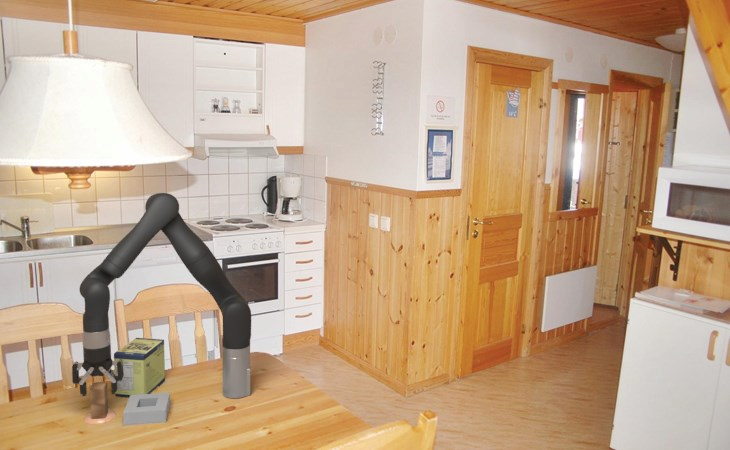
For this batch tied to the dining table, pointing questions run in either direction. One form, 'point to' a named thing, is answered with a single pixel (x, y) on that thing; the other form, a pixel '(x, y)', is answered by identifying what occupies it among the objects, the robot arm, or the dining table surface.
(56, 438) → the dining table surface
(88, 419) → the coaster
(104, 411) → the walnut block
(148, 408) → the pocket holder
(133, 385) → the protein box
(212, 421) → the dining table surface
